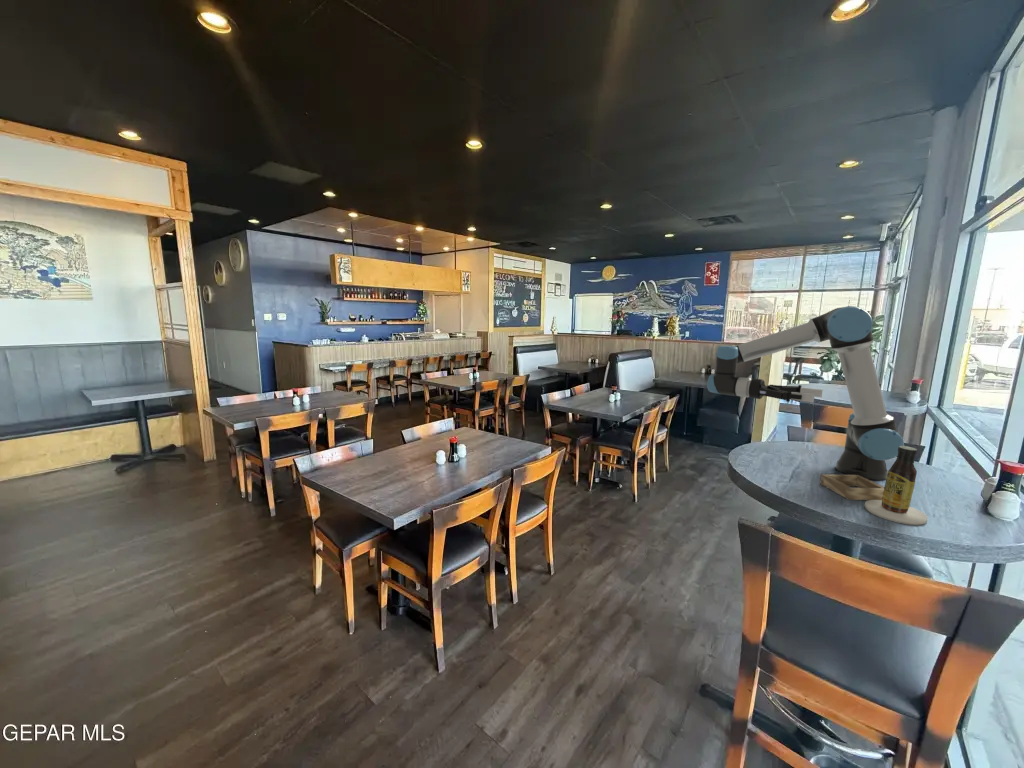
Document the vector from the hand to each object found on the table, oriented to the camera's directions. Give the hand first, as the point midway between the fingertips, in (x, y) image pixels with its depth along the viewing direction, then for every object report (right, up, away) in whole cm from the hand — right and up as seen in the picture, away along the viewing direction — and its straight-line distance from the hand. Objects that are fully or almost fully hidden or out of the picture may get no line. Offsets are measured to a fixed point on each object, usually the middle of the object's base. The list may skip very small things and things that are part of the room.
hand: (818, 395), depth 144 cm
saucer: (+10, -35, -18) cm, 41 cm away
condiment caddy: (+10, -33, -2) cm, 34 cm away
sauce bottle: (+10, -34, -18) cm, 40 cm away
